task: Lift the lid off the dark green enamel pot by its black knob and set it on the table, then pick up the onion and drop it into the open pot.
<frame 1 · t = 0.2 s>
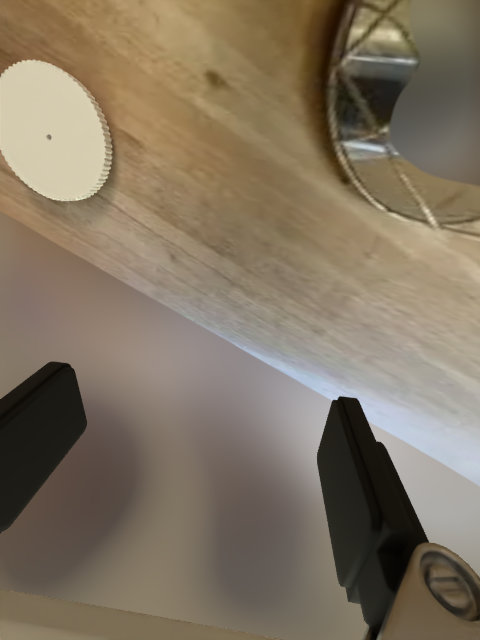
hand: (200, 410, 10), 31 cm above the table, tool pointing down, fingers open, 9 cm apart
plastic lid: (64, 140, 34), on the table
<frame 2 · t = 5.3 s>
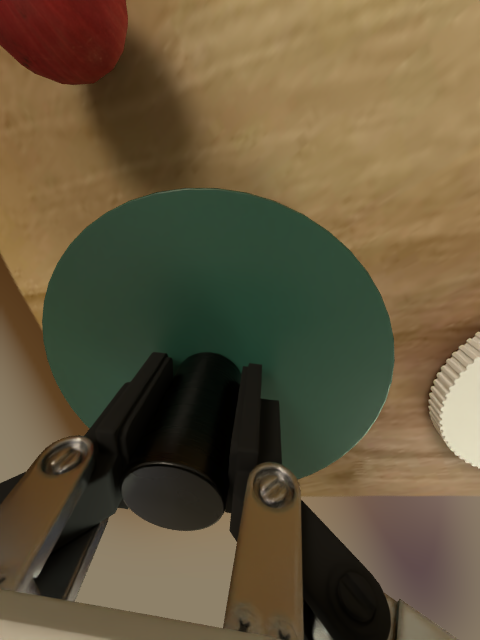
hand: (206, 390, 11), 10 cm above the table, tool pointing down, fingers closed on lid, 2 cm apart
lid: (212, 370, 12), point 9 cm above the table, touching gripper, pot
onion: (102, 39, 14), on the table
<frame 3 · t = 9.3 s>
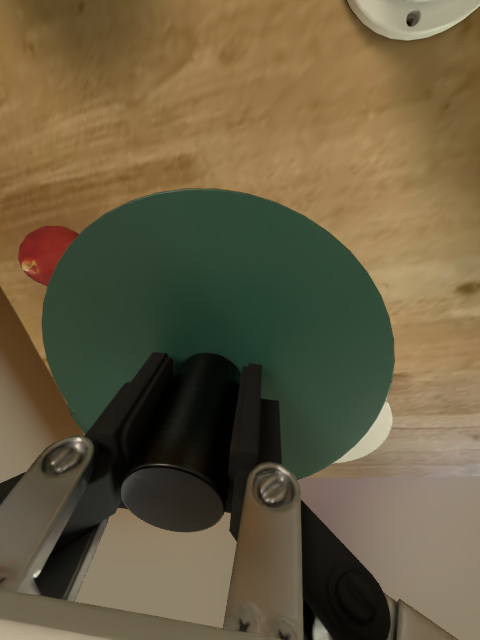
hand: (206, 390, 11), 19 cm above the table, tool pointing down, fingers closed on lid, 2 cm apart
lid: (212, 371, 12), point 18 cm above the table, touching gripper
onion: (84, 250, 29), on the table
plastic lid: (327, 408, 35), on the table
when the fingers open (2 cm above the table, at t = 13.3 s): lid stays where it is, point 1 cm above the table.
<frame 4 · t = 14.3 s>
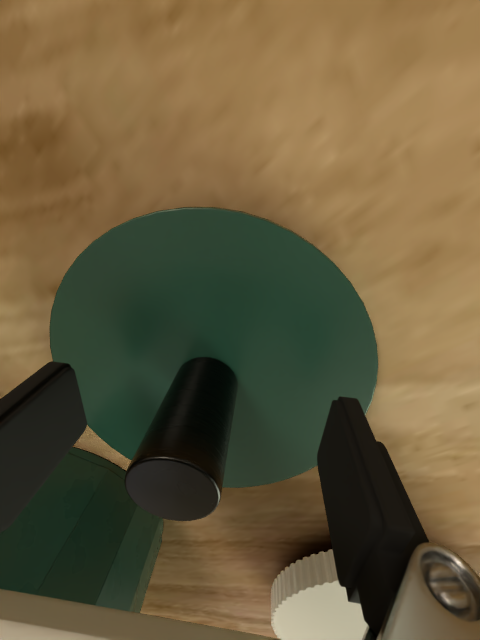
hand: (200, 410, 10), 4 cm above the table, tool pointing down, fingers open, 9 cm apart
lid: (209, 374, 13), point 1 cm above the table
pot: (72, 508, 20), on the table
plastic lid: (364, 579, 20), on the table
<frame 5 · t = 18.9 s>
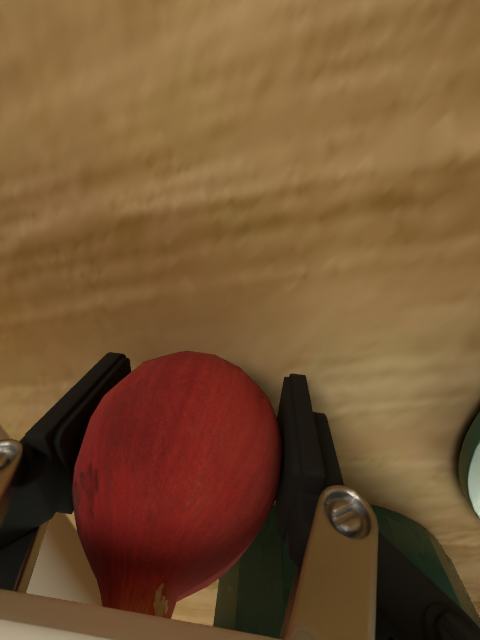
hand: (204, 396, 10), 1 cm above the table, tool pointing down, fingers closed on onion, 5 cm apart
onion: (211, 371, 12), on the table, touching gripper
pot: (328, 565, 17), on the table
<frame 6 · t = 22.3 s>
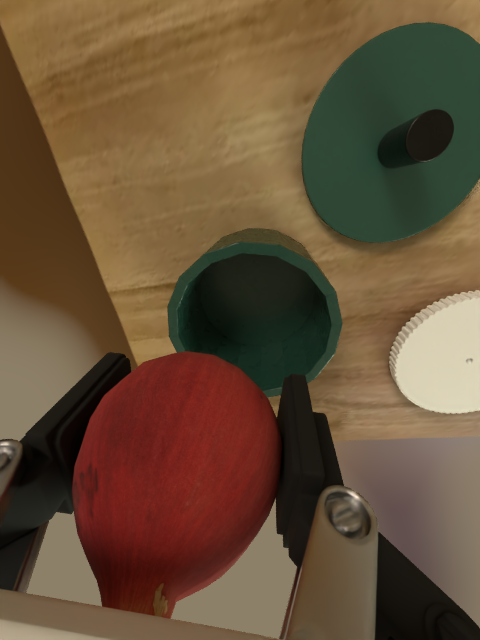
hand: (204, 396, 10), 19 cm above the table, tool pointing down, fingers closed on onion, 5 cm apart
lid: (392, 149, 22), point 1 cm above the table
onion: (211, 372, 12), point 18 cm above the table, touching gripper
pot: (256, 294, 29), on the table
plastic lid: (452, 347, 29), on the table
when the fingers open (7 cm above the table, at t = 26.1 s): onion drops 4 cm, resting on pot.
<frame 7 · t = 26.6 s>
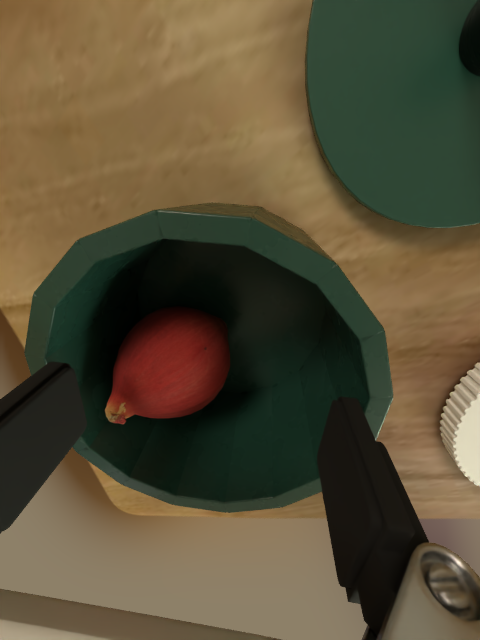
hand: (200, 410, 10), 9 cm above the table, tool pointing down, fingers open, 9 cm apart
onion: (224, 321, 17), point 1 cm above the table, touching pot
pot: (229, 314, 18), on the table
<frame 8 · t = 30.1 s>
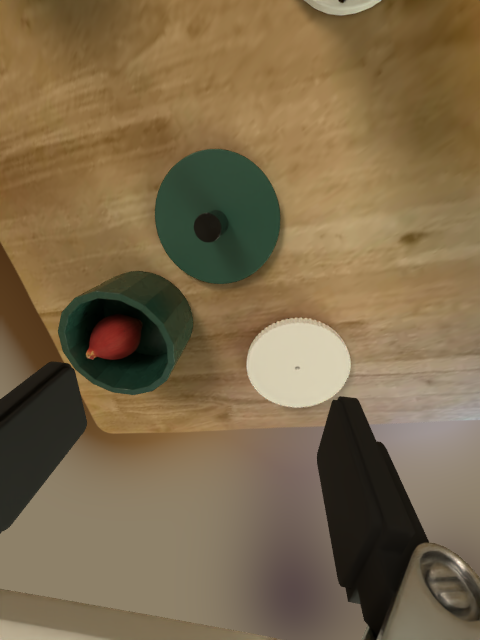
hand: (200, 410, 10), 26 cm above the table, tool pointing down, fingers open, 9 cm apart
lid: (217, 222, 31), point 1 cm above the table
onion: (141, 320, 38), point 1 cm above the table, touching pot
pot: (146, 317, 39), on the table
plastic lid: (295, 357, 39), on the table
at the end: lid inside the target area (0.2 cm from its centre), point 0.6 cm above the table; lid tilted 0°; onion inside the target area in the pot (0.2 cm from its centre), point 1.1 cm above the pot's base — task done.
